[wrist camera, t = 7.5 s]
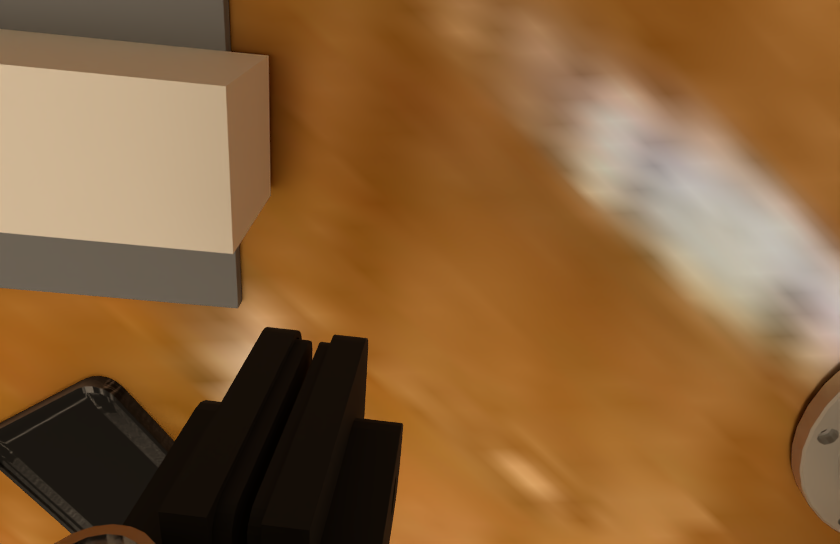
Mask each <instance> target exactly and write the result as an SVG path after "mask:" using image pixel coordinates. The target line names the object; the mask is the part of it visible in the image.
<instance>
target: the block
mask: <svg viewBox="0 0 840 544" xmlns="http://www.w3.org/2000/svg"><path fill="white" fill-rule="evenodd" d="M270 196H271V184H270V114H269V56H268V55H258V54H248V53H238V52H228V51H218V50H208V49H198V48H188V47H178V46H167V45H157V44H147V43H137V42H127V41H117V40H107V39H97V38H87V37H77V36H67V35H57V34H47V33H36V32H26V31H16V30H6V29H0V232H1V233H11V234H22V235H33V236H44V237H55V238H65V239H76V240H87V241H98V242H109V243H119V244H130V245H141V246H152V247H163V248H173V249H184V250H195V251H206V252H216V253H227V254H234V252H235V250H236V249H237V247H238V246H239V244H240V243H241V241H242V239H243V238H244V236H245V235H246V233H247V232H248V230H249V228H250V227H251V225H252V224H253V222H254V221H255V219H256V218H257V216H258V214H259V213H260V211H261V210H262V208H263V207H264V205H265V203H266V202H267V200H268V199H269V197H270Z"/></svg>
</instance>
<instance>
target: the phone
mask: <svg viewBox="0 0 840 544" xmlns="http://www.w3.org/2000/svg"><path fill="white" fill-rule="evenodd" d="M173 444H174V441H173V440H172V439H171V438H170V436H169V435H168V434H167V433H166V432H165V431H164V430H163V429H162V428H161V427H160V426H159V425H158V424H157V423H156V422H155V421H154V420H153V418H152V417H151V416H150V415H149V414H148V413H147V412H146V411H145V410H144V409H143V408H142V407H141V406H140V405H139V404H138V403H137V401H136V400H135V399H134V398H133V397H132V396H131V395H130V394H129V393H128V392H127V391H126V390H125V389H124V388H123V387H122V386H121V385H120V384H119V383H117V382H116V381H114V380H112V379H110V378H107V377H102V376H92V377H89V378H86V379H84V380H82V381H80V382H78V383H76V384H74V385H72V386H70V387H68V388H66V389H64V390H62V391H61V392H59V393H57V394H55V395H53V396H51V397H49V398H47V399H45V400H43V401H41V402H39V403H38V404H36V405H34V406H32V407H30V408H28V409H26V410H24V411H22V412H20V413H18V414H16V415H15V416H13V417H11V418H9V419H7V420H5V421H3V422H1V423H0V470H1V471H2V472H3V473H4V474H5V475H6V476H7V477H9V478H10V479H11V480H12V481H13V482H14V483H15V484H16V485H18V486H19V487H20V488H21V489H22V490H23V491H24V492H25V493H27V494H28V495H29V496H30V497H31V498H32V499H33V500H34V501H36V502H37V503H38V504H39V505H40V506H41V507H42V508H43V509H45V510H46V511H47V512H48V513H49V514H50V515H51V516H52V517H54V518H55V519H56V520H57V521H58V522H59V523H60V524H61V525H62V526H64V527H65V528H66V529H67V530H68V531H69V532H70V533H71V534H72V533H75V532H78V531H81V530H84V529H87V528H90V527H93V526H102V525H110V524H116V525H123V523H124V522H125V520H126V518H127V517H128V515H129V514H130V512H131V510H132V509H133V507H134V506H135V504H136V502H137V501H138V499H139V498H140V496H141V494H142V493H143V491H144V490H145V488H146V486H147V485H148V483H149V482H150V480H151V479H152V477H153V475H154V474H155V472H156V471H157V469H158V467H159V466H160V464H161V463H162V461H163V459H164V458H165V456H166V455H167V453H168V451H169V450H170V448H171V447H172V445H173Z"/></svg>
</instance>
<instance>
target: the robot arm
mask: <svg viewBox="0 0 840 544" xmlns="http://www.w3.org/2000/svg"><path fill="white" fill-rule="evenodd" d="M367 358H368V339H367V338H360V337H351V336H342V335H334V336H333V338H332V340H331V343H326V342H320V343H319V345H318V348H317V350H316V353H315V355H314V357H313V360H312V342H311V341H308V340H302V338H301V333H300V331H298V330H289V329H280V328H271V327H266V328H264V330H263V331H262V333H261V335H260V336H259V338H258V340H257V341H256V343H255V345H254V347H253V348H252V350H251V352H250V354H249V355H248V357H247V359H246V360H245V362H244V364H243V366H242V367H241V369H240V371H239V373H238V374H237V376H236V378H235V379H234V381H233V383H232V385H231V386H230V388H229V390H228V392H227V393H226V395H225V397H224V398H223V400H222V402H216V401H208V400H205V401H202V402H200V404H199V405H198V406H197V407H196V409H195V410H194V412H193V413H192V415H191V416H190V418H189V420H188V421H187V423H186V424H185V426H184V428H183V429H182V431H181V432H180V434H179V436H178V437H177V439H176V440H175V442H174V444H173V445H172V447H171V448H170V450H169V451H168V453H167V455H166V456H165V458H164V459H163V461H162V463H161V464H160V466H159V467H158V469H157V471H156V472H155V474H154V475H153V477H152V479H151V480H150V482H149V483H148V485H147V486H146V488H145V490H144V491H143V493H142V494H141V496H140V498H139V499H138V501H137V502H136V504H135V506H134V507H133V509H132V510H131V512H130V514H129V515H128V517H127V518H126V520H125V522H124V523H123V525H116V524H110V525H102V526H93V527H90V528H87V529H84V530H81V531H78V532H75V533H72V534H71V535H69V536H67V537H65V538H63V539H62V540H60V541H58V542H56V543H55V544H389V541H390V535H391V528H392V521H393V515H394V508H395V501H396V493H397V484H398V476H399V466H400V456H401V444H402V432H403V423H395V422H387V421H378V420H370V419H364V412H365V394H366V376H367ZM791 467H792V470H793V474H794V477H795V481H796V484H797V486H798V488H799V489H800V491H801V493H802V494H803V496H804V498H805V499H806V501H807V503H808V504H809V506H810V507H811V508H812V509H813V511H814V512H815V513H816V514H817V515H818V517H819V518H820V519H821V520H822V521H823V522H825V523H826V524H827V525H829V526H830V527H831V528H833V529H834V530H836V531H838V532H840V370H839V371H838V372H837V373H836V374H835V375H834V376H833V377H832V378H831V379H830V380H829V381H827V382H826V383H825V384H824V386H823V387H822V388H821V389H820V391H819V392H818V393H817V395H816V396H815V397H814V398H813V400H812V401H811V402H810V404H809V405H808V407H807V408H806V410H805V412H804V414H803V416H802V418H801V420H800V422H799V424H798V426H797V429H796V433H795V437H794V440H793V444H792V465H791Z"/></svg>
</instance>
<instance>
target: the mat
mask: <svg viewBox="0 0 840 544" xmlns="http://www.w3.org/2000/svg"><path fill="white" fill-rule="evenodd" d="M0 29H6V30H16V31H26V32H36V33H47V34H57V35H67V36H77V37H87V38H97V39H107V40H117V41H127V42H137V43H147V44H157V45H167V46H178V47H188V48H198V49H208V50H218V51H228V52H231V44H230V22H229V0H0ZM0 288H9V289H21V290H33V291H44V292H56V293H67V294H79V295H90V296H102V297H113V298H125V299H136V300H148V301H159V302H171V303H182V304H194V305H206V306H217V307H229V308H238V307H239V306H240V304H241V302H242V291H241V268H240V246H238V247H237V249H236V250H235V252H234V254H227V253H216V252H206V251H195V250H184V249H173V248H163V247H152V246H141V245H130V244H119V243H109V242H98V241H87V240H76V239H65V238H55V237H44V236H33V235H22V234H11V233H1V232H0Z"/></svg>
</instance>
